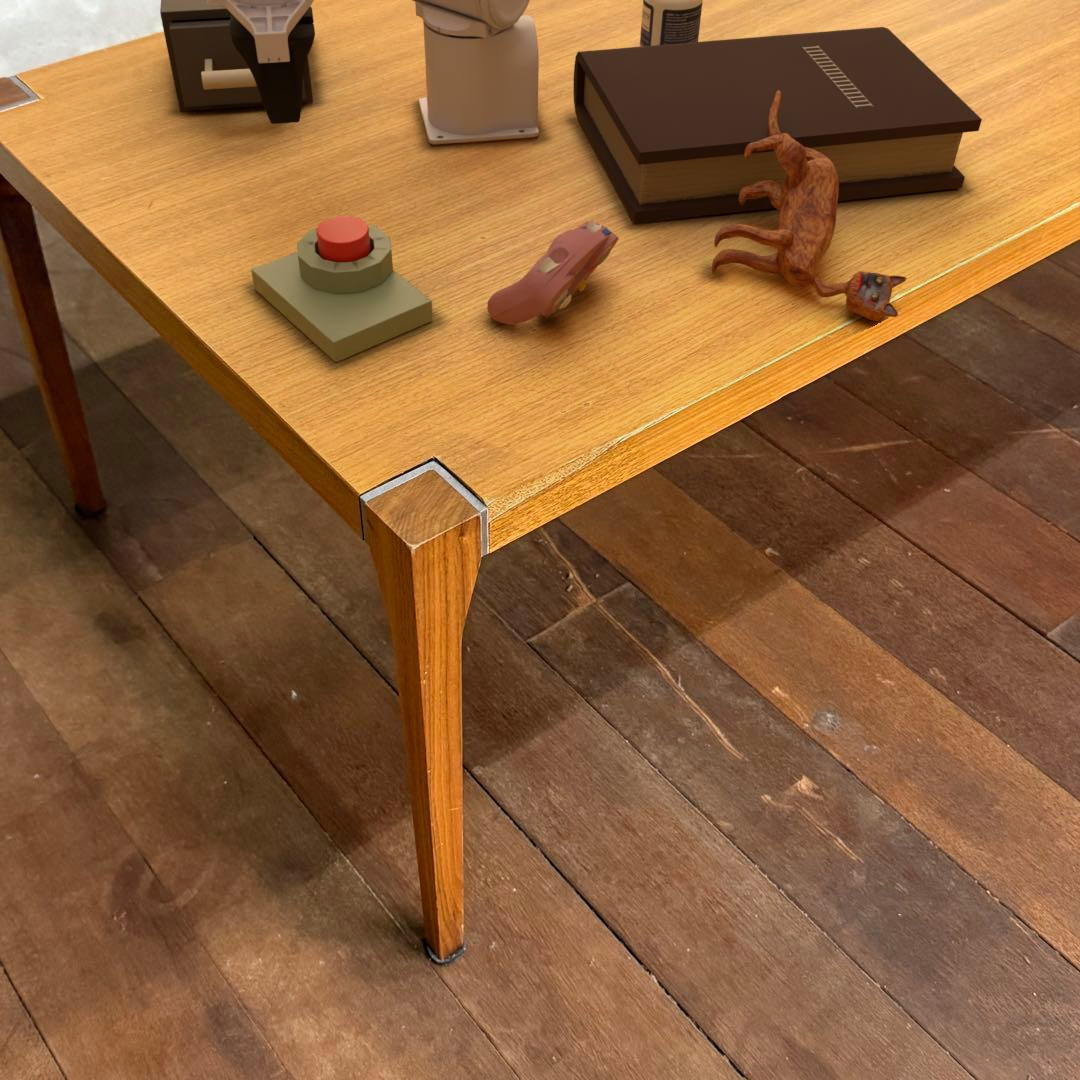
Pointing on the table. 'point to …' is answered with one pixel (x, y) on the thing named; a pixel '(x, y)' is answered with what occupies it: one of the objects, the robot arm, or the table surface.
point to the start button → (343, 239)
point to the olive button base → (343, 296)
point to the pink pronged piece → (554, 275)
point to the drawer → (211, 64)
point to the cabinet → (192, 5)
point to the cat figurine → (803, 225)
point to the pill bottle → (670, 22)
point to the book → (766, 118)
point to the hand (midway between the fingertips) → (285, 118)
